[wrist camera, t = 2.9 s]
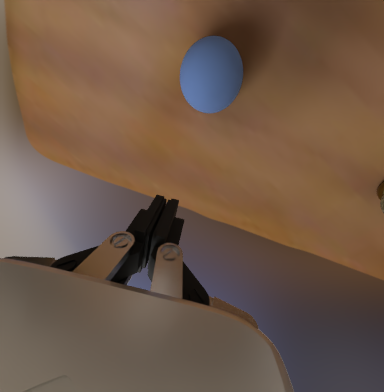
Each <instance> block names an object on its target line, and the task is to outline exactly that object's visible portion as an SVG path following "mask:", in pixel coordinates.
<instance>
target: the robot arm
mask: <svg viewBox="0 0 384 392" xmlns="http://www.w3.org/2000/svg"><path fill="white" fill-rule="evenodd" d="M178 203H179V200H176V199H171V200H168V202H167V204H166V199H164V196H160V195H156V197H155V198H154V200H153V202H152V203H151V205H150V206H149V208H148V210H144V209H141V210H140V211H139V213H138V214H137V216H136V217H135V218H134V220H133V221H132V223H131V224H130V226H129V227H128V229H127V230H126V231H120V232H116V233H114V234H112V235H110V236H109V237H108V238H107V239H106V240H105V241H104V242H103V243H102V244H101V245H100V246H97V247H94V248H90V249H87V250H84V251H81V252H78V253H74V254H71V255H68V256H65V257H63V258H60V259H58V260H55V258H48V257H19V256H12V257H5V258H0V392H294V391H293V387H292V384H291V381H290V379H289V376H288V373H287V370H286V368H285V365H284V363H283V361H282V358H281V356H280V354H279V352H278V351H277V349H276V347H275V346H274V345H273V343H272V342H271V341H270V340H269V339H268V338H267V337H266V336H265V335H264V334H263V333H262V332H261V331H260V330H259V329H258V325H257V323H256V321H255V320H254V319H253V317H252V316H251V315H249V314H248V313H246V312H244V311H242V310H240V309H238V308H236V307H234V306H232V305H230V304H228V303H226V302H224V301H222V300H220V299H218V298H216V297H214V298H212V297H210V296H208V294H207V292H206V291H205V289H204V288H203V287H202V285H201V284H200V283H199V281H198V280H197V279H196V278H195V276H194V275H193V274H192V272H191V271H190V270H189V268H188V267H187V266H186V265H185V264H184V262H183V253H182V250H181V248H180V247H179V246H178V244H179V240H180V236H181V232H182V227H183V224H184V220H183V219H180V218H176V217H175V216H176V212H177V207H178ZM148 260H149V262H148ZM147 263H148V276H149V278H150V280H151V282H152V284H151V290H150V291H148V290H144V289H140V288H136V287H132V286H127V284H128V282H129V281H130V279H131V277H132V275H133V274H135V273H137V272H141V269H142V268H145V267H146V265H147Z"/></svg>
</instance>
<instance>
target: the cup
mask: <svg viewBox="0 0 384 392" xmlns="http://www.w3.org/2000/svg"><path fill="white" fill-rule="evenodd" d="M377 196H378V198H379V199H380V200H381V209H382V211H383V213H384V182H383V183H382V184H381V185H380V186H379V187H378V189H377Z"/></svg>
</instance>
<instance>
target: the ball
mask: <svg viewBox="0 0 384 392" xmlns="http://www.w3.org/2000/svg"><path fill="white" fill-rule="evenodd" d="M242 80H243V64H242V60H241V57H240V54H239V52H238V50H237V49H236V47H235V46H234V45H233V44H232V43H231V42H230V41H229V40H227V39H225V38H223V37H220V36H207V37H204V38H202V39H200V40H198V41H197V42H196V43H194V44H193V45H192V46H191V47H190V49H189V50H188V51H187V53H186V55H185V57H184V59H183V62H182V65H181V69H180V85H181V89H182V92H183V95H184V97H185V99H186V100H187V102H188V103H189V104H190V105H191V106H192V107H193V108H195V109H196V110H198V111H200V112H204V113H215V112H219V111H221V110H223V109H225V108H226V107H228V106H229V105H230V104H231V103H232V102H233V100H234V99H235V98H236V96H237V94H238V92H239V90H240V88H241V84H242Z"/></svg>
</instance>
